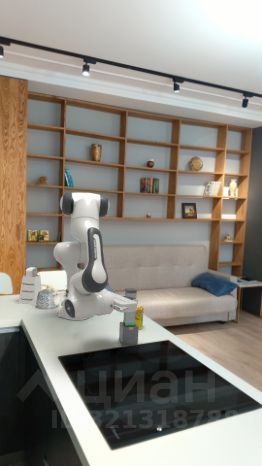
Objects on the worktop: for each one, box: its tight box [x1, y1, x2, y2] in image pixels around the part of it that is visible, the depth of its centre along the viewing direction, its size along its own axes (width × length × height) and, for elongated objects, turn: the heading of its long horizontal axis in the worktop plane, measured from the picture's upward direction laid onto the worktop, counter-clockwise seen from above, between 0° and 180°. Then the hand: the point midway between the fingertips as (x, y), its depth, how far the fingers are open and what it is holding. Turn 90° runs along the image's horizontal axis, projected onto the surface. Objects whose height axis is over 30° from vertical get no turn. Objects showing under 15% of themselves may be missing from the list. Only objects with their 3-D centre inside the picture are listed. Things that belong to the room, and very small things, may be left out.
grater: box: [18, 266, 43, 306], centre depth 206 cm, size 10×10×20 cm
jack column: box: [122, 287, 137, 326], centre depth 149 cm, size 4×4×17 cm
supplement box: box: [135, 305, 145, 331], centre depth 169 cm, size 6×6×11 cm
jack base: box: [118, 321, 140, 347], centre depth 149 cm, size 12×14×9 cm
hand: (131, 299), depth 149 cm, fingers closed on jack column, 5 cm apart
